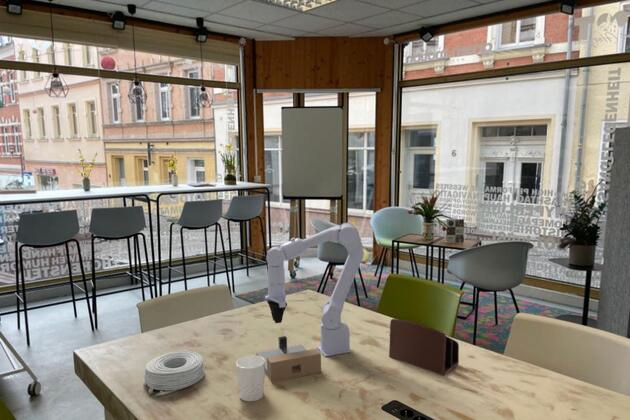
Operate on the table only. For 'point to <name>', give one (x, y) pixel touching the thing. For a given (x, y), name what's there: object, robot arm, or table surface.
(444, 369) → the letter holder
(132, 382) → the table surface
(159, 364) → the cable
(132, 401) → the table surface
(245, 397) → the white cup
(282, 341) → the bolt
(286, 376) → the door and jamb
